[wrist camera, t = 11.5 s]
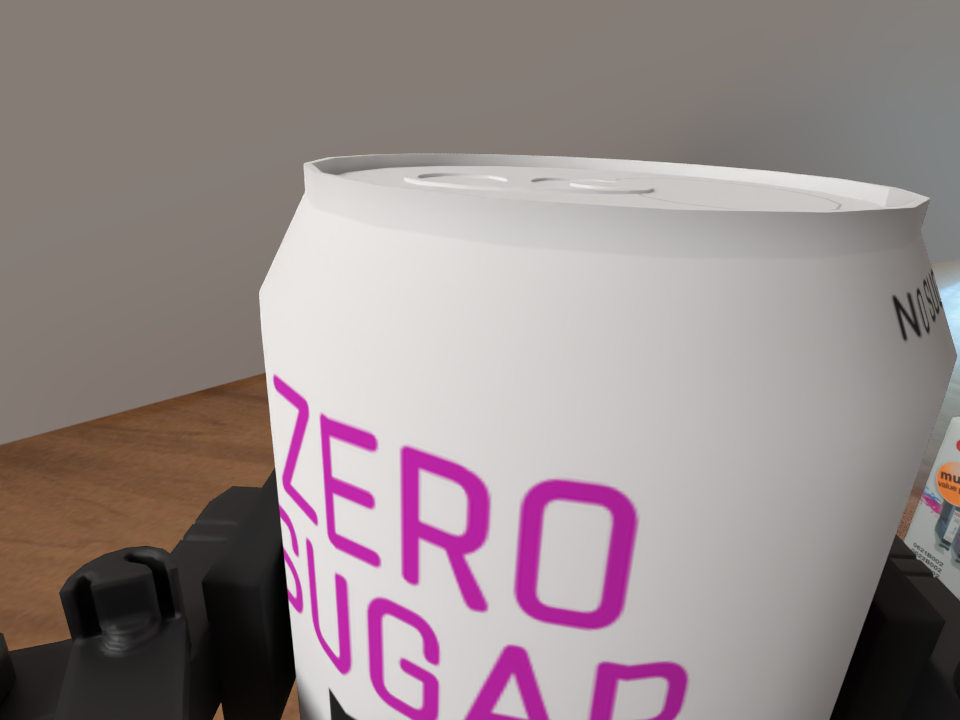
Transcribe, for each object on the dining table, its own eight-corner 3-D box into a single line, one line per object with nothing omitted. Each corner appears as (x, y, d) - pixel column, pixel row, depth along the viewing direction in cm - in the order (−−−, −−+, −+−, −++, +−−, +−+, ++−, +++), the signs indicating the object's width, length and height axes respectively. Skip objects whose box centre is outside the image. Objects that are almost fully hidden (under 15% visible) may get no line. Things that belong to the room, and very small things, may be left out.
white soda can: (654, 723, 17) (770, 163, 11) (796, 1222, 9) (1361, 251, 4) (365, 713, 17) (340, 145, 11) (266, 1208, 9) (39, 195, 4)
